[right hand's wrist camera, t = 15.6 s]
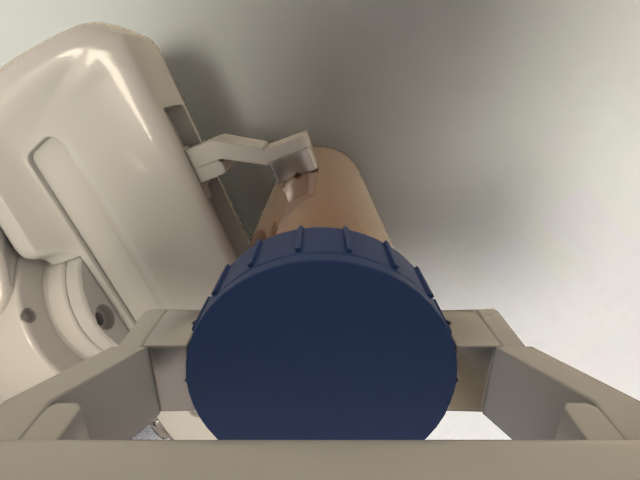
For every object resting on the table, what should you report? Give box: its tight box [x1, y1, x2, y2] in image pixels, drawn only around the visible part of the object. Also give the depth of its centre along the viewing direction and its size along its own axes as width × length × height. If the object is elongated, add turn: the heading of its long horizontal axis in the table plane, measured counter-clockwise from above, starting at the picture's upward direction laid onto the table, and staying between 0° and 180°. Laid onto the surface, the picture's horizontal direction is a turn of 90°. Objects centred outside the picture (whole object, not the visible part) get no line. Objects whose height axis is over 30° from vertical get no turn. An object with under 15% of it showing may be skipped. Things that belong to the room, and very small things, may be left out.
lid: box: [186, 225, 457, 440], centre depth 9 cm, size 6×6×2 cm
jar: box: [246, 147, 394, 251], centre depth 16 cm, size 5×5×15 cm
